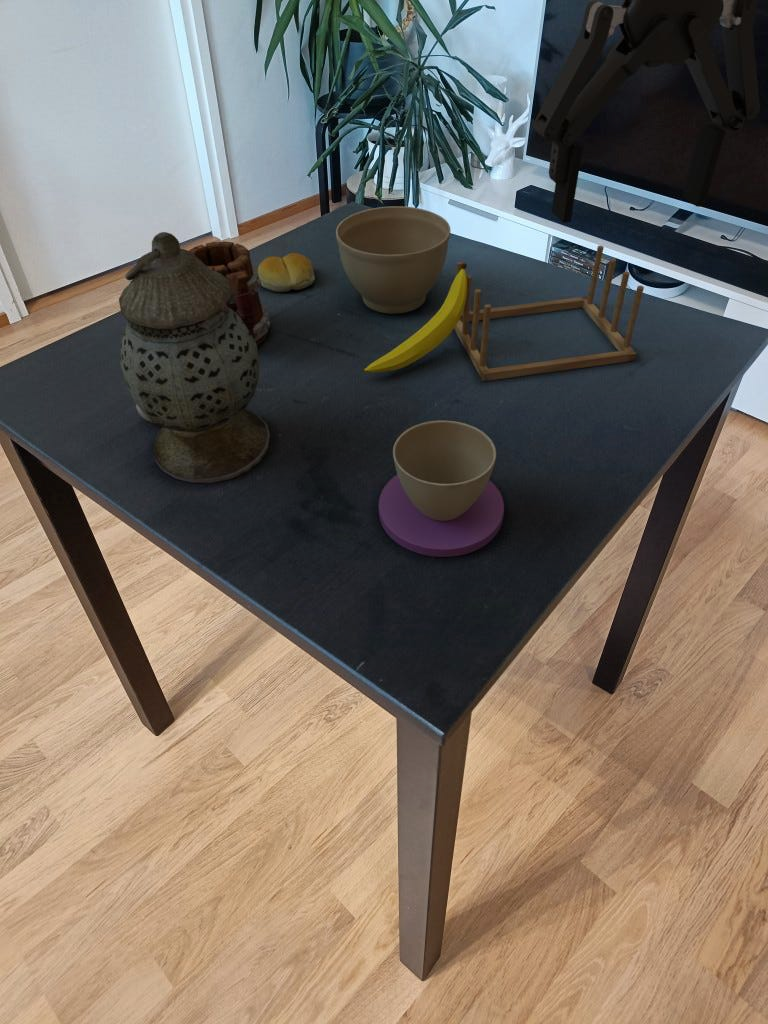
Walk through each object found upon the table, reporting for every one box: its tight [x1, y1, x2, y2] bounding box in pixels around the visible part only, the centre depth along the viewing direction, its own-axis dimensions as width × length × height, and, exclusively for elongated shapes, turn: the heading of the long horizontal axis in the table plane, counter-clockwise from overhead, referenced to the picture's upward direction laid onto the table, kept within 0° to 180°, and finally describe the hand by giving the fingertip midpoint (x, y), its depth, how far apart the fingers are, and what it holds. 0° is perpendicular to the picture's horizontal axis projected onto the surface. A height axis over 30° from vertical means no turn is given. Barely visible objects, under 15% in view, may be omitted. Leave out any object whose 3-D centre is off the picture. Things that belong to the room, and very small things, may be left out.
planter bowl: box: [335, 205, 451, 315], centre depth 104 cm, size 16×16×11 cm
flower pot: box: [392, 419, 497, 521], centre depth 71 cm, size 10×10×7 cm
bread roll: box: [257, 252, 316, 293], centre depth 111 cm, size 8×9×4 cm
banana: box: [363, 262, 468, 373], centre depth 93 cm, size 3×19×6 cm, turn 127°
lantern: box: [118, 231, 271, 484], centre depth 74 cm, size 14×14×25 cm
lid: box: [378, 473, 505, 558], centre depth 74 cm, size 13×13×1 cm
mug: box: [188, 240, 271, 347], centre depth 96 cm, size 12×14×15 cm
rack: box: [453, 245, 645, 382], centre depth 95 cm, size 16×21×10 cm
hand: (627, 209), depth 68 cm, fingers open, 13 cm apart
